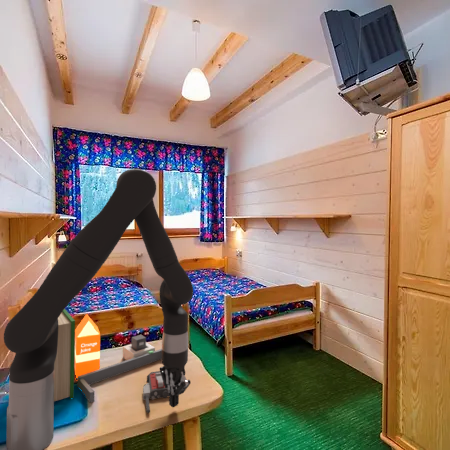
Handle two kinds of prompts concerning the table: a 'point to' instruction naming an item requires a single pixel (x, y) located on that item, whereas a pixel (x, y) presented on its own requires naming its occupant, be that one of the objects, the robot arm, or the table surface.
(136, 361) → the cradle
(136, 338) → the plug
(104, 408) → the table surface
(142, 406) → the table surface
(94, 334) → the orange juice
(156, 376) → the walkie-talkie
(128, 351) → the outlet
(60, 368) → the hardback book
